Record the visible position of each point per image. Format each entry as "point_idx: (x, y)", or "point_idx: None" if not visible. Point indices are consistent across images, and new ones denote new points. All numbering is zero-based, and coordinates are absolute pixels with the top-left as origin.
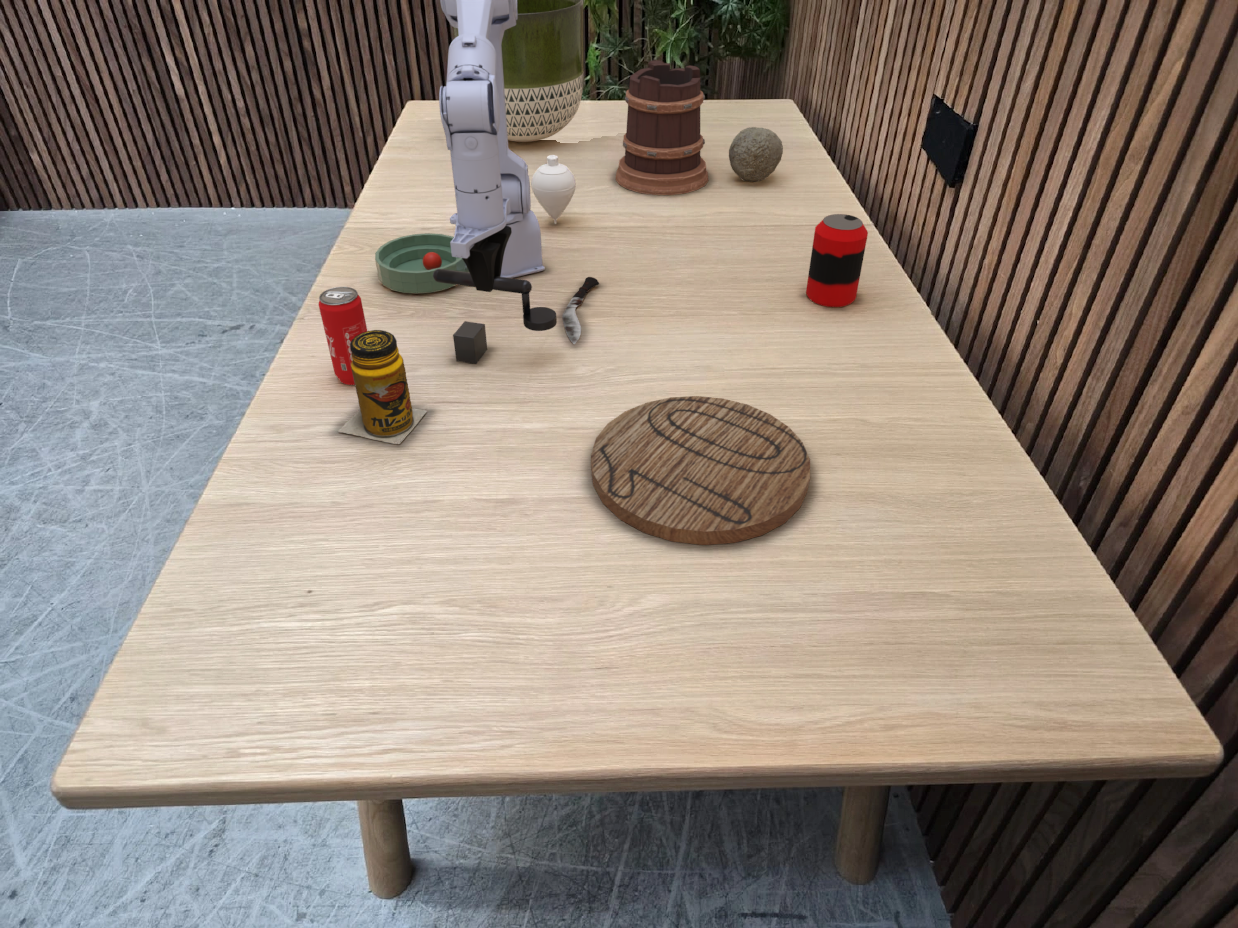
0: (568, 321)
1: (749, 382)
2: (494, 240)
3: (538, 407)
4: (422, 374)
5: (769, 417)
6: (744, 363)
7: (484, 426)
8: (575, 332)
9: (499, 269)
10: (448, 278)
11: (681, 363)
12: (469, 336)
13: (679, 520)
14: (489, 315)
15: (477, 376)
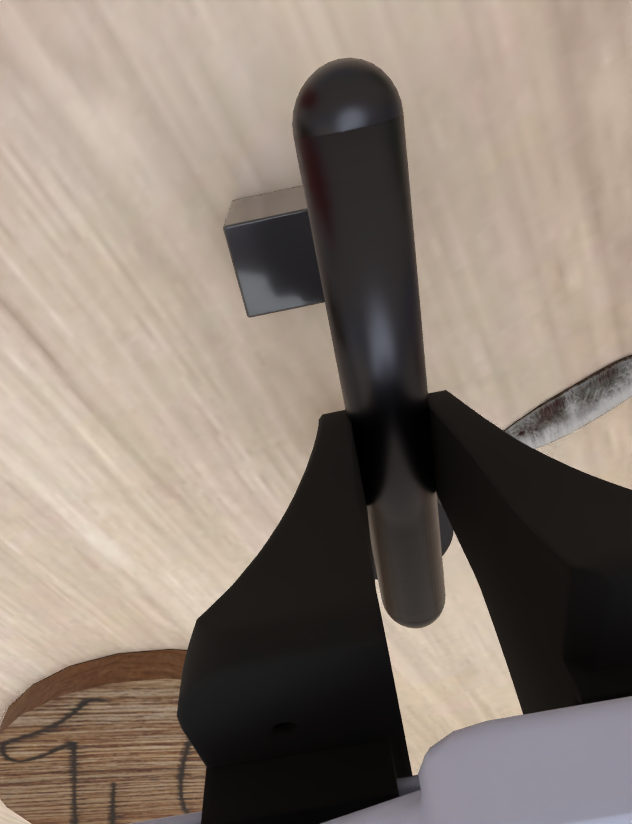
0: (595, 391)
1: (445, 721)
2: (537, 701)
3: (170, 521)
4: (85, 134)
5: None
6: (504, 701)
7: (18, 468)
8: (534, 436)
9: (456, 533)
10: (316, 241)
11: (469, 641)
12: (251, 296)
13: (26, 805)
14: (595, 103)
15: (196, 321)
